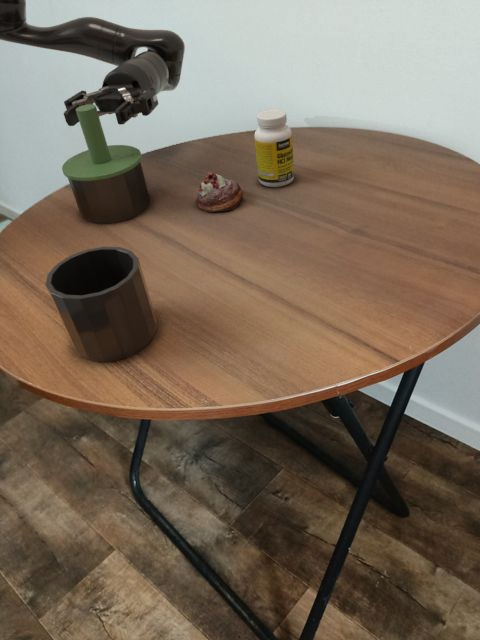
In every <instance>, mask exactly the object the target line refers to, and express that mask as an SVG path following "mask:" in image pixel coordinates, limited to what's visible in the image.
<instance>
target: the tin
mask: <svg viewBox="0 0 480 640" xmlns="http://www.w3.org/2000/svg"><path fill="white" fill-rule="evenodd" d="M67 181H68V183H69V185H70V189H71V192H72V195H73V197H74V199H75V200H74V201H75V203H76V205H77V208H78V210H79V211H78V212H79V213H80V215H81V217H82V219H84V220H85V221H87V222H89V223H90V224H91V223H92V224H98V225H107V224H108V225H109V224H115V223H121V222H124V221H128V220H130V219H132V218H135V217H137V216H139V215H140V214H142V213H143V212H145V211H146V210H147V209H148V208H149V206H150V204H151V199H150V194H149V190H148V189H149V188H148V185H147V182H146V178H145V173H144V170H143V166H142V162H141V161H140V163H139V164H138V165H137V166H135V167H134V168H133V169H131V170H129V171H127V172H125V173H123V174H120V175H117V176H114V177H110V178H106V179H101V180H93V181H78V180H72V179H69V178H67Z"/></svg>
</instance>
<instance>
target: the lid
mask: <svg viewBox="0 0 480 640" xmlns="http://www.w3.org/2000/svg"><path fill="white" fill-rule="evenodd" d="M97 111H98V107H97V106H96V105H95V104H93V105H92V104H89V105H83V106H80V107H78V108H76V113H77V116H78V119H79V122H78V123H79V126H80V129H81V131H82V134H83V135H82V136H84V141H85V144H86V147H87V150H84V151H81V152H79V153H77V154H75V155H73V156H72V157H69V158H68V159H66V161H65V162H64V163H63V164H62V166H61V171H62V174H63V175H64V177H65V178H67V179H68V178H69V179H72V180H78V181H93V180H101V179H106V178H110V177H114V176H117V175H120V174H123V173H125V172H127V171H129V170H131V169H133V168H134V167H135V166H137V165H138V164H139V163H140V162H141V161H142V159H143V155H142V152H141V150H140V149H139V148H137V147H134V146H132V145H125V144H111V145H108V142H107V140H106V136H105V133H104V129H103V126H102V122H101V118H100V116H99V115H98V112H97Z"/></svg>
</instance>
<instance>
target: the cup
mask: <svg viewBox="0 0 480 640" xmlns="http://www.w3.org/2000/svg"><path fill="white" fill-rule="evenodd" d="M45 287H46V290H47V292H48V294H49V296H50V298H51V301H52V303H53V305H54V307H55V309H56V311H57V314H58V316H59V318H60V321H61V323H62V325H63V327H64V329H65V332H66V333H67V336H68V338H69V340H70V342H71V344H72V347H73V348H74V350H75V352H76V354H78V355H79V356H80V357H81V358H83V359H84V360H87V361H89V362H96V363H110V362H116V361H120V360H123V359H126V358H129V357H131V356H134V355H135V354H137V353H139V352H140V351H142V350H144V349H145V348H146V347H147V346H148V345H149V344H150V343H151V342H152V341H153V339H154V338H155V336H156V333H157V330H158V322H157V316H156V313H155V309H154V307H153V302H152V300H151V295H150V293H149V290H148V289H149V288H148V286H147V283H146V279H145V276H144V273H143V269H142V265H141V262H140V259H139V257H138V255H136V254H135V253H134V252H133V251H132V250H130V249H127V248H123V247H121V246H98V247H93V248H88V249H84V250H82V251H79V252H76V253H73V254H71V255H69V256H67V257H66V258H64V259H63V260H61V261H60V262H58V263H57V264H55V265H54V266H53V268H52V269H51V270H50V271H49V272H48V273H47V274H46V279H45Z"/></svg>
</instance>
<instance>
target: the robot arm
mask: <svg viewBox="0 0 480 640" xmlns="http://www.w3.org/2000/svg"><path fill="white" fill-rule="evenodd" d="M0 41H4V42H8V43H14V44H19V45H25V46H30V47H35V48H41V49H46V50H53V51H59V52H65V53H70V54H75V55H80V56H84V57H86V58H87V57H88V58H90V59H95V60H97V61H101V62H103V63H106V64H110V65H113V66H116V67H115V68H114V69H112V70H111V71H109V72H108V73H107V74H106V75H105V76H104V79H103V81H102V85H101V87H99V88H98V90H96V91H92V92H89V93H87V91H86V90H80V91H79V92H77V93H75V94H74V95H72V96H71V97H69V98H67V99H65V100H64V101H63V103H64V106H65V109H66V110H65V111H64V112H63V117H64V119H65V122H66V124H67V126H68V127H74V126H76V125H77V124H78V123H80V122H79V119H78V116H77V113H76V108H78V107H80V106H83V105H89V104H92V105H95V106H96V108H97V112H98V115H99V117H102V116H105V115H113V114H115V119H116V121H117V124H118V125H119V126H120V125H125V124H126V123H127V122H128V121H129V120H131V119H132V118H134V119H135V118H136V117H137V118H138V115H139V114H142V115H141V116H144V117H146V116H147V117H148V116H149V115H150V114H152V112H154V110H155V109H156V108H157V107H158V105H159V100H158V94H160V93H161V92H170V91H171V92H172V91H175V89H177V87H178V85H179V84H180V80H181V76H182V68H183V63H184V59H185V58H184V57H185V51H186V45H185V42H184V40H183V38H182V37H180V35H179V34H177V33H176V32H174V31H173V30H168V29H142V28H133V27H127V26H124V25H120V24H118V23H114V22H112V21H108V20H105V19H102V18H99V17H95V16H83V17H77V18H74V19H72V20H68V21H65V22H62V23H59V24H55V25H51V26H36V25H32V24H29V23H28V21H27V0H0ZM142 48H146V49H147V50H145V51H142V52H140V53H138V54H137V52H138V49H142Z"/></svg>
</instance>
